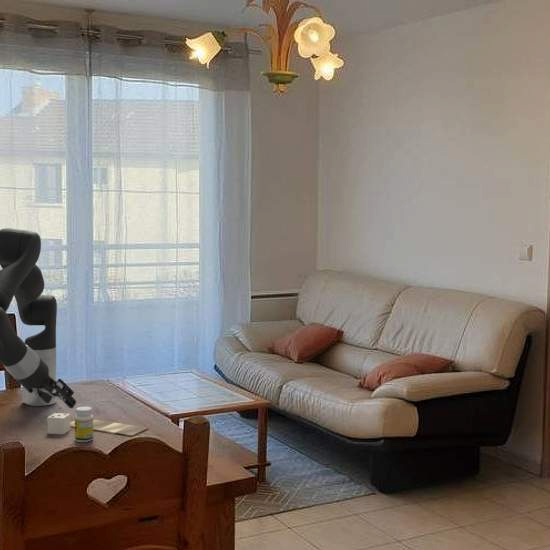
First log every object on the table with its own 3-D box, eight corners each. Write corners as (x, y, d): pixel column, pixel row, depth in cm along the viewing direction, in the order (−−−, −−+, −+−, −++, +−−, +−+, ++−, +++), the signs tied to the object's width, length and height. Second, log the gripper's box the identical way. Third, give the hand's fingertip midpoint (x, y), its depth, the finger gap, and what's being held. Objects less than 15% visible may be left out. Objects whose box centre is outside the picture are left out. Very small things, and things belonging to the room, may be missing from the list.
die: (47, 433, 218) (47, 417, 217) (54, 429, 222) (54, 412, 222) (63, 434, 217) (63, 418, 217) (70, 430, 221) (70, 413, 221)
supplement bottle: (76, 437, 215) (76, 406, 214) (94, 437, 215) (94, 406, 214) (73, 442, 210) (73, 410, 209) (92, 442, 210) (91, 410, 210)
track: (64, 425, 225) (64, 424, 225) (82, 419, 232) (82, 417, 232) (131, 436, 216) (131, 435, 216) (148, 429, 223) (148, 427, 223)
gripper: (54, 356, 193) (89, 394, 203) (13, 349, 200) (49, 386, 211) (37, 382, 189) (74, 419, 199) (-4, 374, 196) (33, 410, 207)
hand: (61, 402), depth 205 cm, fingers open, 8 cm apart
